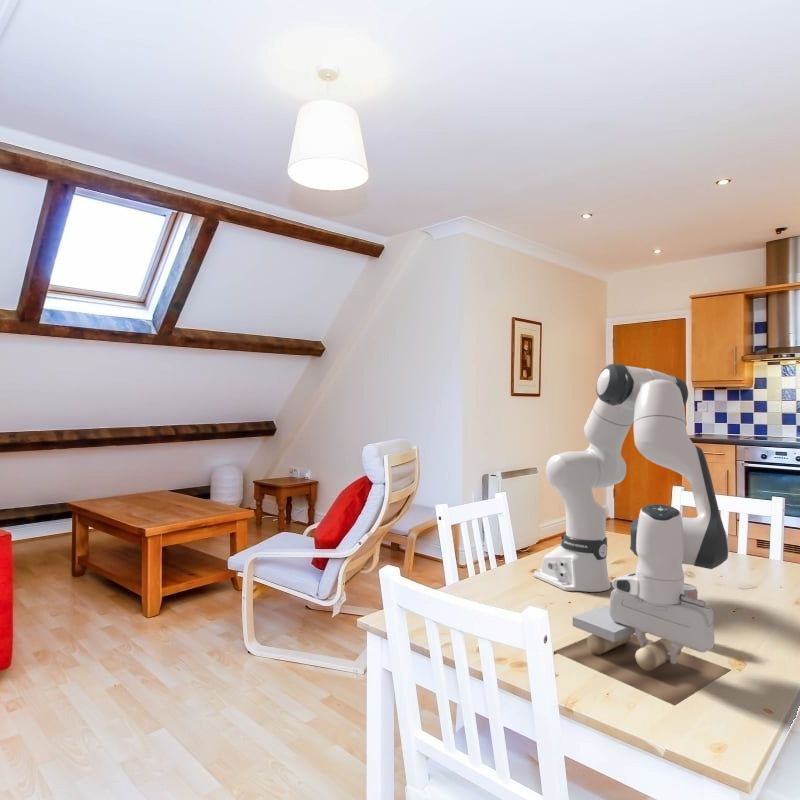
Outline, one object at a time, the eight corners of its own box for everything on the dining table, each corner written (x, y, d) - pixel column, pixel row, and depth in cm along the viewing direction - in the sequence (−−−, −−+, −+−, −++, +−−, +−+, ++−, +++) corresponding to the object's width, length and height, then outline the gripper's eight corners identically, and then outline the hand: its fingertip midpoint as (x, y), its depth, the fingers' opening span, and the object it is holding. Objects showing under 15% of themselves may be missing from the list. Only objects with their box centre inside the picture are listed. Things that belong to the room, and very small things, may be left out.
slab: (572, 626, 124) (572, 616, 124) (605, 613, 131) (605, 604, 131) (614, 642, 116) (614, 632, 116) (646, 628, 123) (646, 618, 123)
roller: (635, 665, 113) (635, 645, 113) (661, 652, 119) (662, 633, 119) (654, 673, 110) (654, 653, 110) (680, 659, 116) (681, 640, 116)
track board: (553, 656, 122) (553, 632, 122) (613, 630, 135) (613, 609, 135) (674, 710, 101) (674, 682, 101) (731, 674, 114) (731, 649, 114)
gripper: (721, 600, 108) (720, 673, 108) (622, 572, 124) (621, 635, 125) (705, 607, 104) (704, 683, 105) (605, 577, 121) (604, 643, 121)
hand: (658, 657), depth 115 cm, fingers closed on roller, 4 cm apart
